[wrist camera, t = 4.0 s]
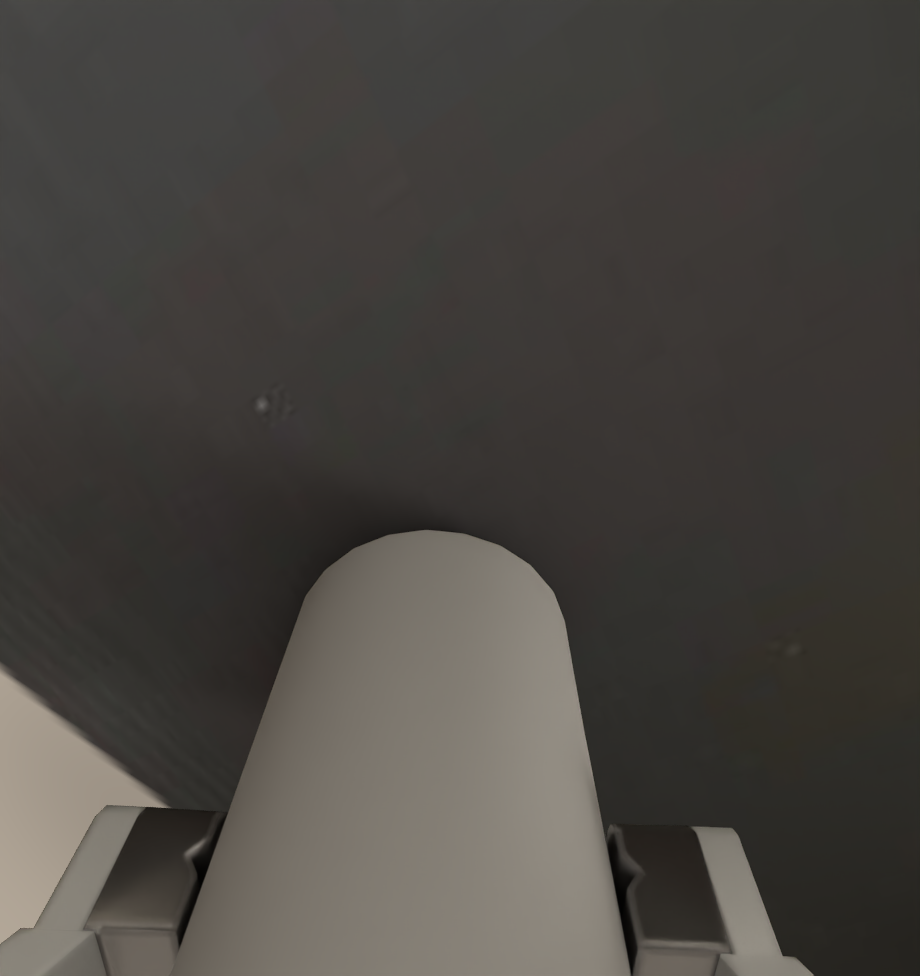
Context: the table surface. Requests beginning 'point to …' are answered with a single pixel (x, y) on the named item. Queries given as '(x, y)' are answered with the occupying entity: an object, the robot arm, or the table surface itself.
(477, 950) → the beverage can
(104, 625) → the table surface
